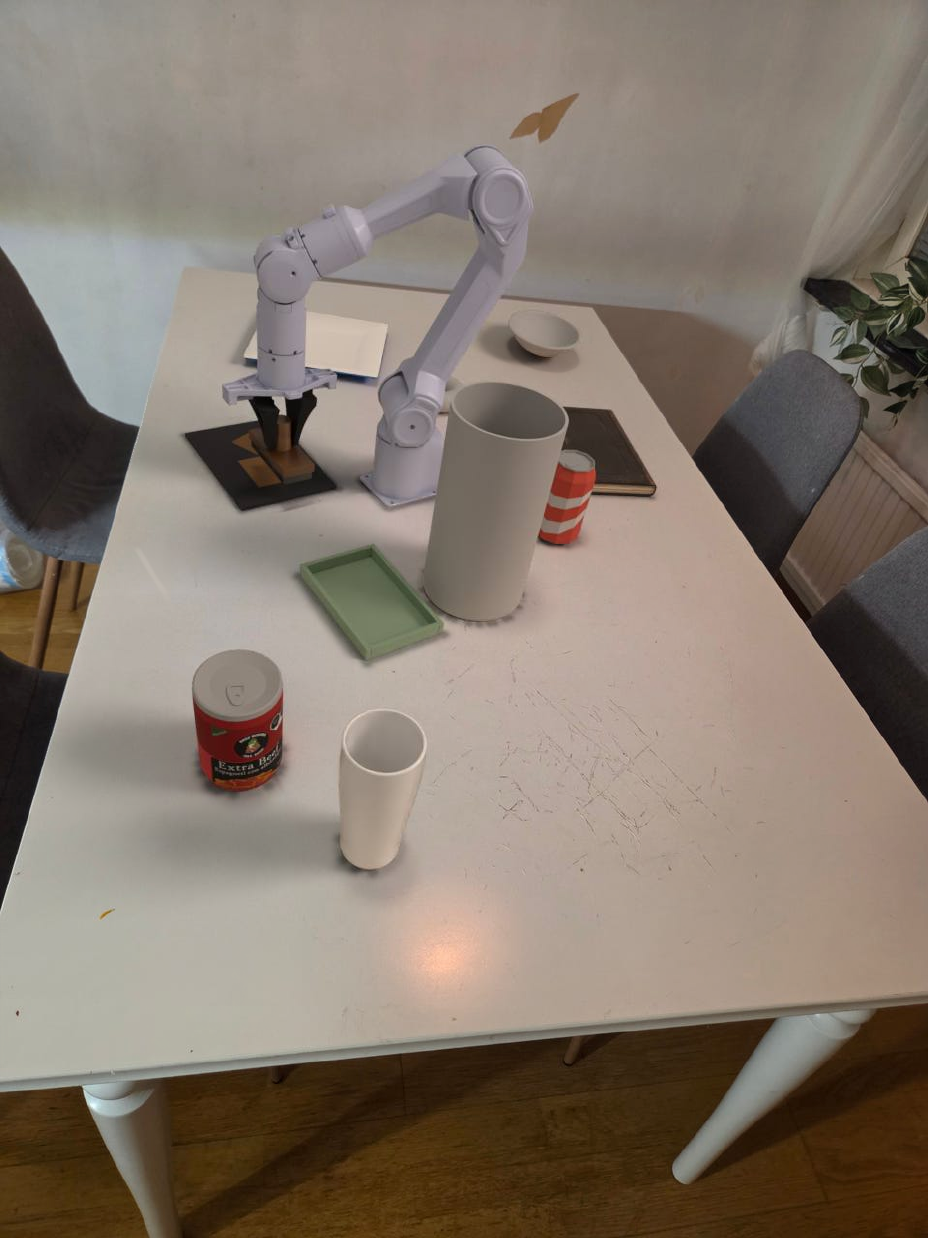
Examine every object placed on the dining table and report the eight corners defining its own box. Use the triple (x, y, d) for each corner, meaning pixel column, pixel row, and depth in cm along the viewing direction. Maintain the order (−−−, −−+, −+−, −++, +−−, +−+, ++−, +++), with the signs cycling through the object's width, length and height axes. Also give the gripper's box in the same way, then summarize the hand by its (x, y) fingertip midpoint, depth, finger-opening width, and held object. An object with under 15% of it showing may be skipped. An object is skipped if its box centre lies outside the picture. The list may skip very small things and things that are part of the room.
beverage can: (524, 531, 111) (543, 456, 103) (551, 515, 115) (572, 442, 107) (557, 553, 109) (579, 478, 101) (585, 536, 112) (608, 463, 104)
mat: (274, 419, 123) (274, 416, 122) (336, 488, 112) (337, 485, 111) (184, 435, 115) (184, 432, 115) (241, 511, 104) (241, 507, 104)
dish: (501, 329, 162) (506, 305, 159) (570, 339, 164) (576, 315, 160) (505, 367, 149) (511, 342, 146) (580, 378, 151) (587, 353, 147)
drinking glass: (332, 812, 73) (341, 705, 63) (406, 813, 75) (426, 708, 65) (330, 880, 68) (339, 775, 58) (408, 880, 70) (430, 777, 60)
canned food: (212, 804, 72) (204, 726, 65) (190, 739, 77) (180, 659, 70) (294, 779, 75) (295, 702, 68) (268, 718, 80) (267, 640, 73)
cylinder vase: (471, 547, 106) (507, 371, 90) (540, 598, 101) (592, 421, 84) (401, 581, 99) (426, 396, 82) (471, 639, 93) (513, 453, 77)
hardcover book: (555, 493, 120) (559, 480, 118) (522, 416, 136) (525, 403, 134) (653, 497, 123) (658, 484, 122) (610, 421, 140) (614, 409, 138)
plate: (376, 387, 135) (377, 376, 134) (242, 367, 133) (242, 355, 132) (387, 333, 152) (388, 323, 151) (268, 315, 150) (268, 304, 148)
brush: (249, 445, 109) (247, 402, 104) (279, 439, 111) (279, 397, 107) (283, 486, 103) (283, 442, 99) (314, 479, 105) (315, 436, 101)
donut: (400, 408, 132) (459, 421, 131) (402, 388, 129) (462, 402, 129) (415, 383, 139) (470, 395, 139) (417, 364, 137) (473, 376, 136)
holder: (372, 555, 102) (373, 543, 101) (441, 635, 93) (444, 623, 92) (299, 576, 97) (299, 564, 96) (365, 662, 88) (366, 650, 87)
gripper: (237, 367, 90) (241, 470, 99) (350, 352, 98) (344, 449, 107) (213, 340, 94) (218, 442, 103) (323, 328, 101) (319, 423, 110)
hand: (281, 444), depth 105 cm, fingers closed on brush, 2 cm apart
